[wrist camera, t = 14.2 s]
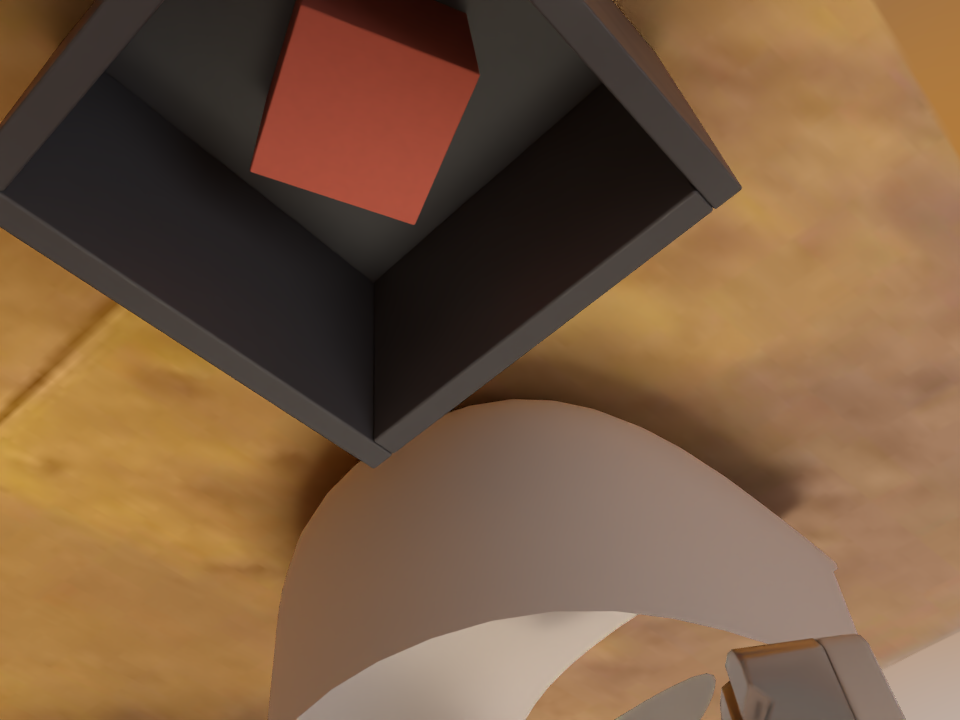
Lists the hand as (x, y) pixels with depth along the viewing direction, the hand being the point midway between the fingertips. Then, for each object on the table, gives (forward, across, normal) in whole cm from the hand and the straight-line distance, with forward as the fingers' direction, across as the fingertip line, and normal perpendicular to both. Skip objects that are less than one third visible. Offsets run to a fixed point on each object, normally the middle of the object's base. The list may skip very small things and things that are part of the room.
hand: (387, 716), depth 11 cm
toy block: (+21, 0, 0) cm, 21 cm away
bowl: (+22, -3, +22) cm, 31 cm away
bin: (+22, 0, 0) cm, 22 cm away
